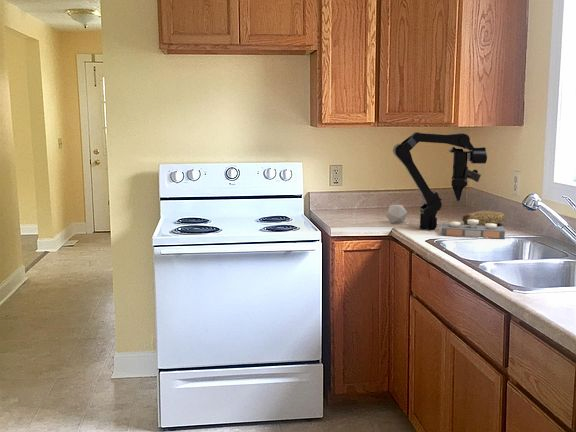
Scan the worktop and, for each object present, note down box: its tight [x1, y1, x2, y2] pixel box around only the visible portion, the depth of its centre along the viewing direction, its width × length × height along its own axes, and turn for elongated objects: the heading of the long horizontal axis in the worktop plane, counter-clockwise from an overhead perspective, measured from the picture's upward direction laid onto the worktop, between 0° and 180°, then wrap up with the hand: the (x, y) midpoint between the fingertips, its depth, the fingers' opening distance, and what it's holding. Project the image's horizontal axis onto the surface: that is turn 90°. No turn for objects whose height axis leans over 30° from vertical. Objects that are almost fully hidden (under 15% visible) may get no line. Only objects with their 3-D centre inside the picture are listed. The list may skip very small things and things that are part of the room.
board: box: [440, 223, 506, 240], centre depth 265 cm, size 24×11×3 cm, turn 76°
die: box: [385, 204, 408, 225], centre depth 292 cm, size 8×9×10 cm
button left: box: [448, 221, 461, 227], centre depth 267 cm, size 4×4×4 cm
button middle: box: [467, 219, 479, 228], centre depth 265 cm, size 4×4×4 cm
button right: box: [485, 223, 498, 229], centre depth 263 cm, size 4×4×4 cm
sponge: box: [461, 210, 506, 226], centre depth 288 cm, size 13×8×20 cm
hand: (458, 200), depth 276 cm, fingers closed
